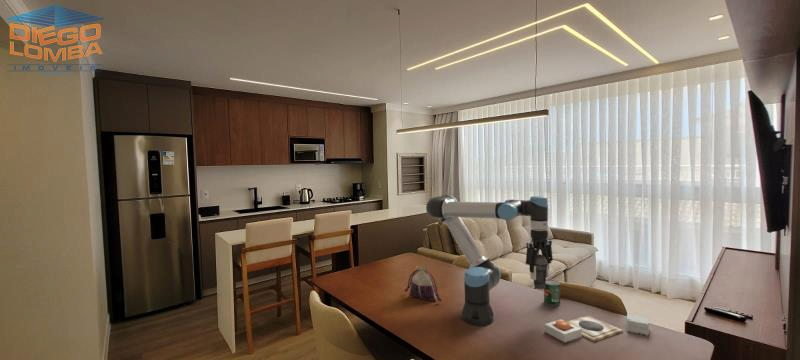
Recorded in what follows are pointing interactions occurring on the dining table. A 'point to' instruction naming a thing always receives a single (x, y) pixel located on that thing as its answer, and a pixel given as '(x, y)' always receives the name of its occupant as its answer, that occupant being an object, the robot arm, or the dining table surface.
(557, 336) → the button housing
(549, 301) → the canned tomato
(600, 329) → the beige flat square slab
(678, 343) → the dining table surface
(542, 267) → the beverage cup
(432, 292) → the pouch
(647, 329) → the small box
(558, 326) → the button
